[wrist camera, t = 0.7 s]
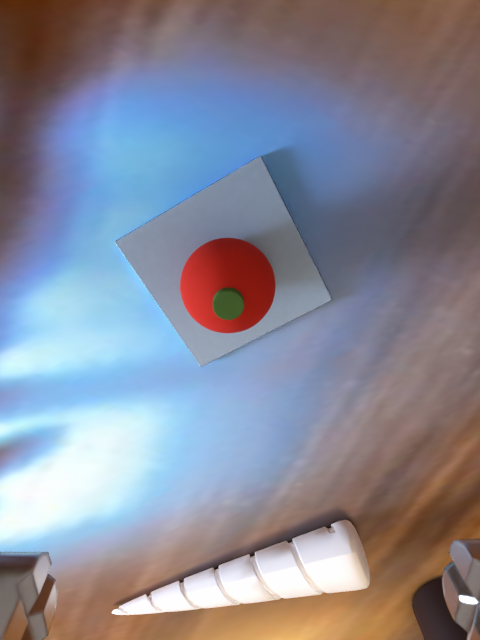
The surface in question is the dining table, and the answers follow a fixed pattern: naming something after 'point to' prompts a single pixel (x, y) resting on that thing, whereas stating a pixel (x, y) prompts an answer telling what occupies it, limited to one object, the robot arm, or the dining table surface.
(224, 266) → the tomato
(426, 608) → the bottle
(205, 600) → the unicorn horn
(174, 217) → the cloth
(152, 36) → the dining table surface
